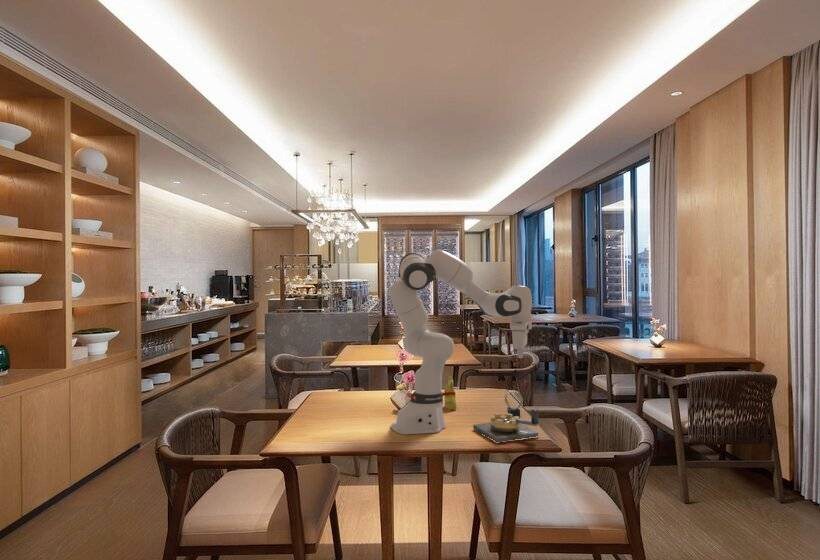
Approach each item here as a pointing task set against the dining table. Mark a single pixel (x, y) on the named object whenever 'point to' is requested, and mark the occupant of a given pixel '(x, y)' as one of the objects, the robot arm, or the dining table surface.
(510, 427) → the ball knob lever
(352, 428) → the dining table surface
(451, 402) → the chocolate bunny
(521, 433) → the plate
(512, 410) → the watch
